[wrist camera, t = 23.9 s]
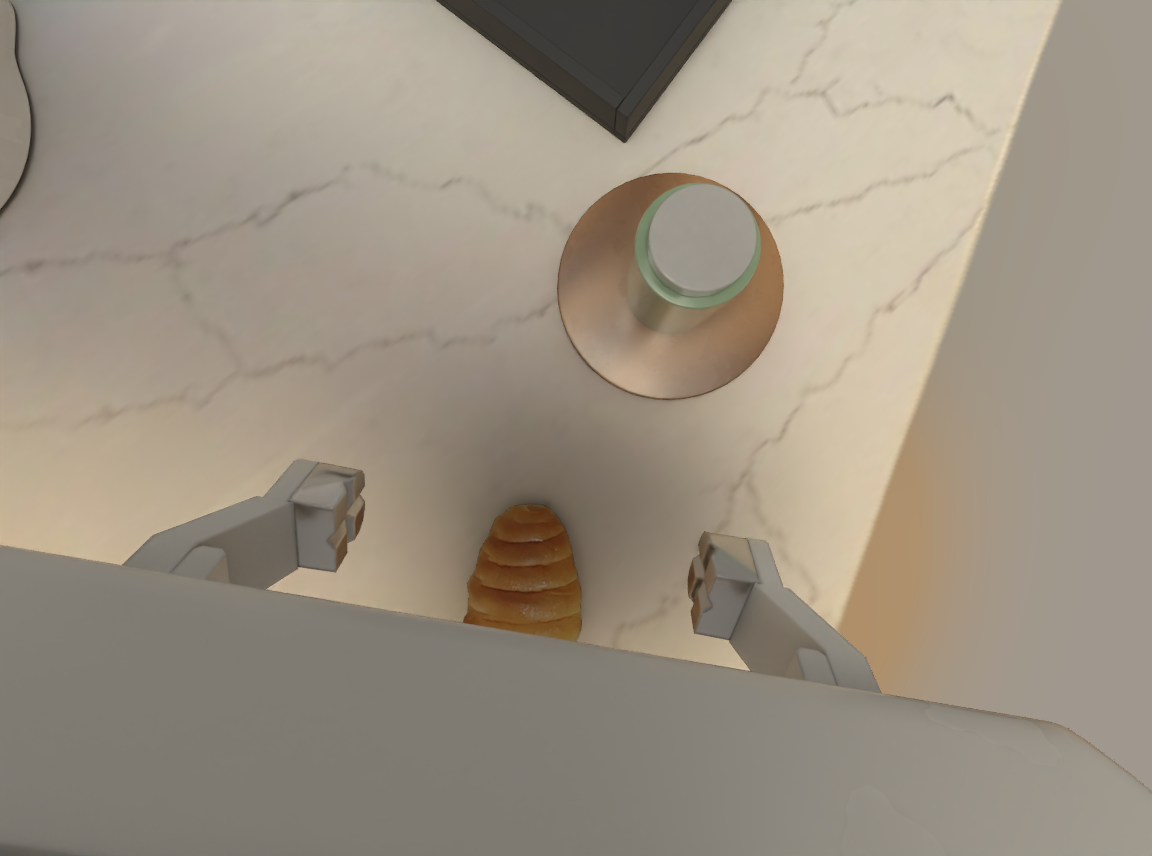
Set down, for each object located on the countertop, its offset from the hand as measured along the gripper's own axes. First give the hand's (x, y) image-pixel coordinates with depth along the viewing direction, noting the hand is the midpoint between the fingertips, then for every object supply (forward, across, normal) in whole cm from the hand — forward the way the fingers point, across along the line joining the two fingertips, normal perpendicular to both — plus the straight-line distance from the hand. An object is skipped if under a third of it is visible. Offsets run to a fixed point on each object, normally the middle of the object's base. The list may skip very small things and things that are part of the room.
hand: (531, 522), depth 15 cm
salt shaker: (+23, -5, 0) cm, 24 cm away
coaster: (+24, -5, 0) cm, 25 cm away
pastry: (+16, 0, +18) cm, 24 cm away
